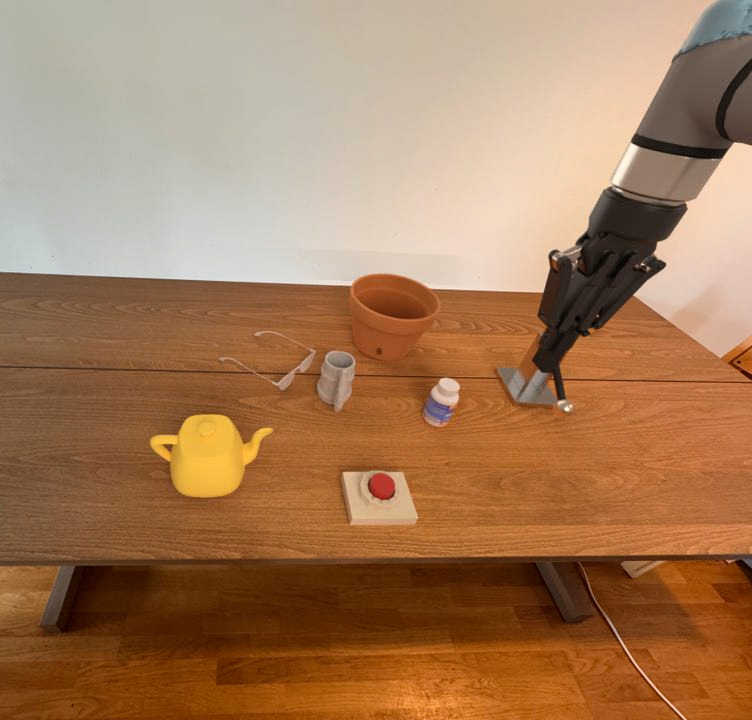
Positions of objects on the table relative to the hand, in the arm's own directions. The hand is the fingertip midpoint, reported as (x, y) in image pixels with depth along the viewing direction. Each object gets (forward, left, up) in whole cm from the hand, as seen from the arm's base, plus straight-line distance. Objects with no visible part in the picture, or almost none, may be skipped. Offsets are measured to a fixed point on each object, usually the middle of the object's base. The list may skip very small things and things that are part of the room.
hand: (541, 366), depth 59 cm
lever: (-8, -30, -20) cm, 37 cm away
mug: (+30, -5, -29) cm, 42 cm away
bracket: (-5, -35, -28) cm, 45 cm away
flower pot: (+29, -31, -29) cm, 51 cm away
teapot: (+40, +25, -29) cm, 55 cm away
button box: (+13, +13, -28) cm, 34 cm away
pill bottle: (+10, -13, -29) cm, 33 cm away
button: (+13, +13, -25) cm, 31 cm away
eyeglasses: (+49, -7, -29) cm, 57 cm away
